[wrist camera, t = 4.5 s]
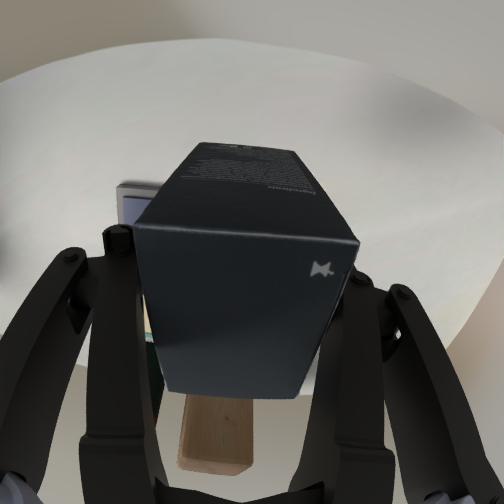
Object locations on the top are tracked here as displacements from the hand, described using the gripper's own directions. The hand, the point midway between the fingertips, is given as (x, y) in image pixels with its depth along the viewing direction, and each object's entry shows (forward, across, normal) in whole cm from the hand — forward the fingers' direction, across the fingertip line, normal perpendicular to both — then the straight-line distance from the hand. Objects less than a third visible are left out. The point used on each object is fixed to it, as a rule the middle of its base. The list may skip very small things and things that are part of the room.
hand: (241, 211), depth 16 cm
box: (+2, 0, 0) cm, 2 cm away
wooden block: (+14, +1, -36) cm, 39 cm away
